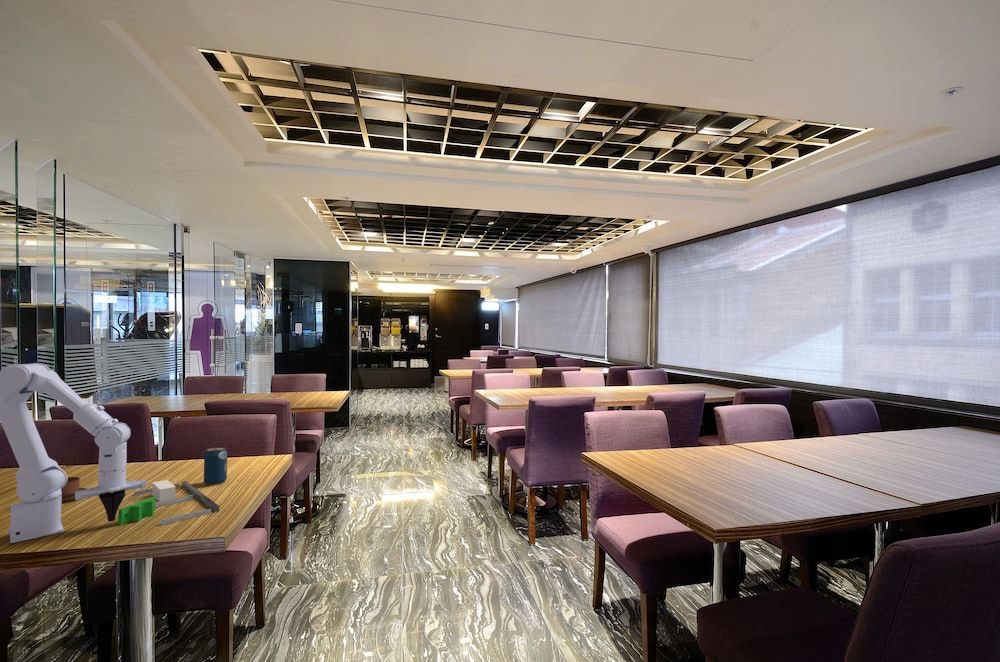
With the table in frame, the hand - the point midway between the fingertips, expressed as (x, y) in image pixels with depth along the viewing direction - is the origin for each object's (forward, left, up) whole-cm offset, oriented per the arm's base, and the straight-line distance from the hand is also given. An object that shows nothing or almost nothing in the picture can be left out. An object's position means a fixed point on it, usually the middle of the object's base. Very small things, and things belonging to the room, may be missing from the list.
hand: (111, 520), depth 122 cm
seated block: (+15, +18, -1) cm, 23 cm away
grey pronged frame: (+16, +9, -1) cm, 18 cm away
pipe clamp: (+6, +1, -2) cm, 7 cm away
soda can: (+31, +23, -2) cm, 39 cm away
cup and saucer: (-7, +39, -2) cm, 40 cm away
